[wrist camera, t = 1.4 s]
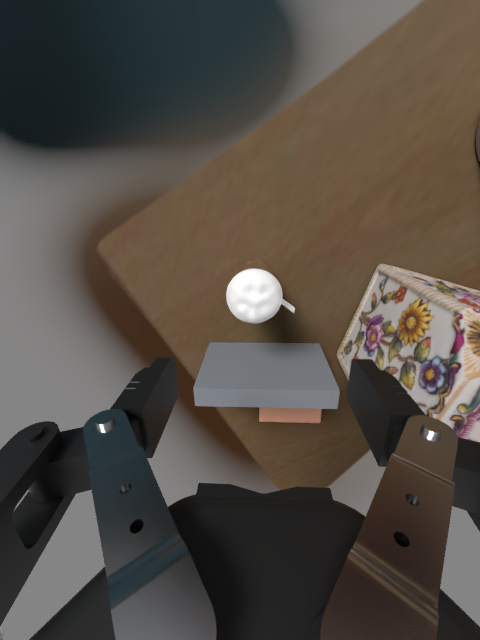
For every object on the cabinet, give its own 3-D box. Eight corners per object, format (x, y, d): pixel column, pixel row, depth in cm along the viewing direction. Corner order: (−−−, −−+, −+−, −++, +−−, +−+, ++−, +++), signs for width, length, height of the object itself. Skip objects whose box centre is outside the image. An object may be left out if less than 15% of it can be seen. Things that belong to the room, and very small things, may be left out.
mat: (324, 368, 33) (326, 371, 33) (319, 419, 37) (320, 423, 36) (259, 367, 34) (259, 370, 33) (259, 418, 37) (259, 421, 37)
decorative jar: (331, 354, 33) (406, 507, 16) (375, 260, 28) (539, 338, 12) (425, 379, 33) (590, 552, 17) (482, 290, 29) (787, 406, 12)
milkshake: (279, 297, 30) (288, 338, 21) (232, 290, 30) (220, 327, 21) (288, 256, 29) (301, 281, 19) (237, 249, 29) (227, 270, 19)
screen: (319, 343, 32) (339, 390, 24) (317, 357, 33) (337, 409, 25) (209, 342, 33) (193, 388, 25) (210, 356, 34) (195, 405, 26)
